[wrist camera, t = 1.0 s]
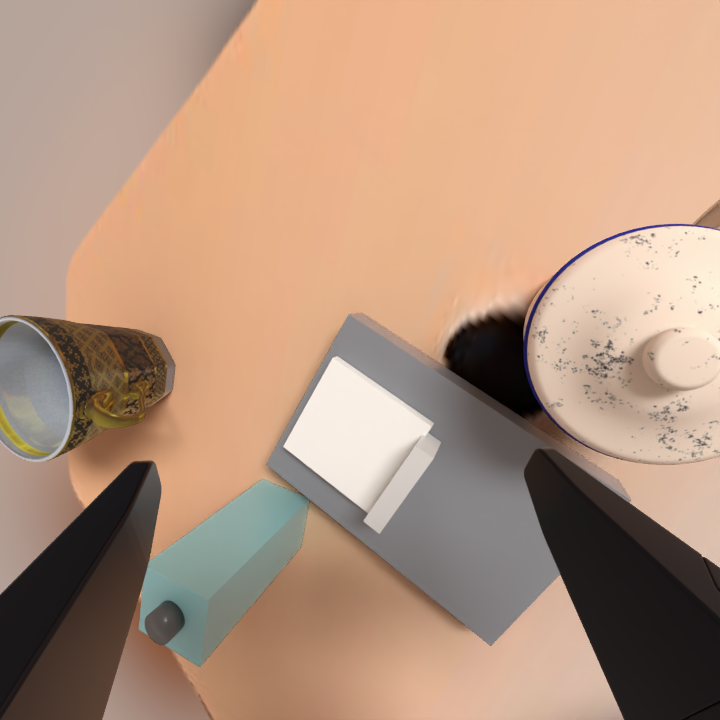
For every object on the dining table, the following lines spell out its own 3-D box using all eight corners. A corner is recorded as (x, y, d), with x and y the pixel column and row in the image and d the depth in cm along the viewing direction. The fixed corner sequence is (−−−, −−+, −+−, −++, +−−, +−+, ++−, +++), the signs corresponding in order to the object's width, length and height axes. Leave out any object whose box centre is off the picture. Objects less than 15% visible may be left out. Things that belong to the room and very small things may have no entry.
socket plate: (619, 480, 24) (631, 500, 21) (492, 616, 28) (490, 646, 25) (362, 313, 28) (348, 314, 25) (283, 452, 32) (266, 464, 29)
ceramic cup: (103, 401, 38) (-27, 434, 29) (110, 299, 36) (-28, 299, 27) (211, 447, 34) (101, 502, 25) (226, 336, 32) (112, 351, 23)
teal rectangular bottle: (310, 498, 32) (194, 613, 20) (301, 546, 33) (186, 683, 21) (257, 476, 33) (121, 572, 21) (250, 523, 34) (117, 639, 22)
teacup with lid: (622, 439, 23) (720, 560, 13) (488, 352, 25) (473, 391, 14) (792, 257, 20) (1139, 205, 9) (620, 171, 22) (731, 42, 11)
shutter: (448, 432, 24) (440, 448, 22) (386, 518, 26) (373, 542, 24) (337, 356, 26) (318, 362, 23) (288, 442, 28) (266, 457, 26)
